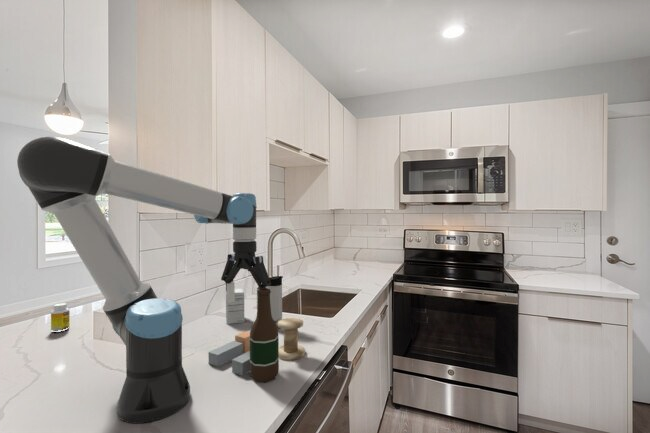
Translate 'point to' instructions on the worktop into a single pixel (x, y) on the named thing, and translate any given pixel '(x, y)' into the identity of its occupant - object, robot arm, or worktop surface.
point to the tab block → (244, 340)
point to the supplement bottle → (60, 317)
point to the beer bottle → (264, 341)
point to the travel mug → (276, 298)
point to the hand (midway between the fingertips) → (245, 305)
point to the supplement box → (235, 308)
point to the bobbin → (291, 339)
